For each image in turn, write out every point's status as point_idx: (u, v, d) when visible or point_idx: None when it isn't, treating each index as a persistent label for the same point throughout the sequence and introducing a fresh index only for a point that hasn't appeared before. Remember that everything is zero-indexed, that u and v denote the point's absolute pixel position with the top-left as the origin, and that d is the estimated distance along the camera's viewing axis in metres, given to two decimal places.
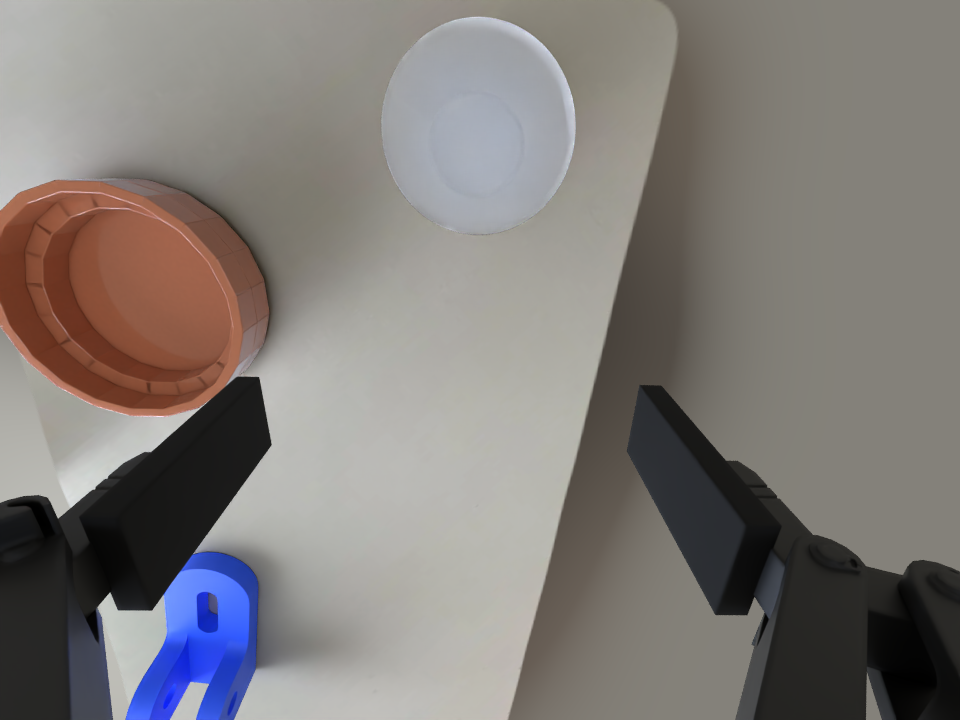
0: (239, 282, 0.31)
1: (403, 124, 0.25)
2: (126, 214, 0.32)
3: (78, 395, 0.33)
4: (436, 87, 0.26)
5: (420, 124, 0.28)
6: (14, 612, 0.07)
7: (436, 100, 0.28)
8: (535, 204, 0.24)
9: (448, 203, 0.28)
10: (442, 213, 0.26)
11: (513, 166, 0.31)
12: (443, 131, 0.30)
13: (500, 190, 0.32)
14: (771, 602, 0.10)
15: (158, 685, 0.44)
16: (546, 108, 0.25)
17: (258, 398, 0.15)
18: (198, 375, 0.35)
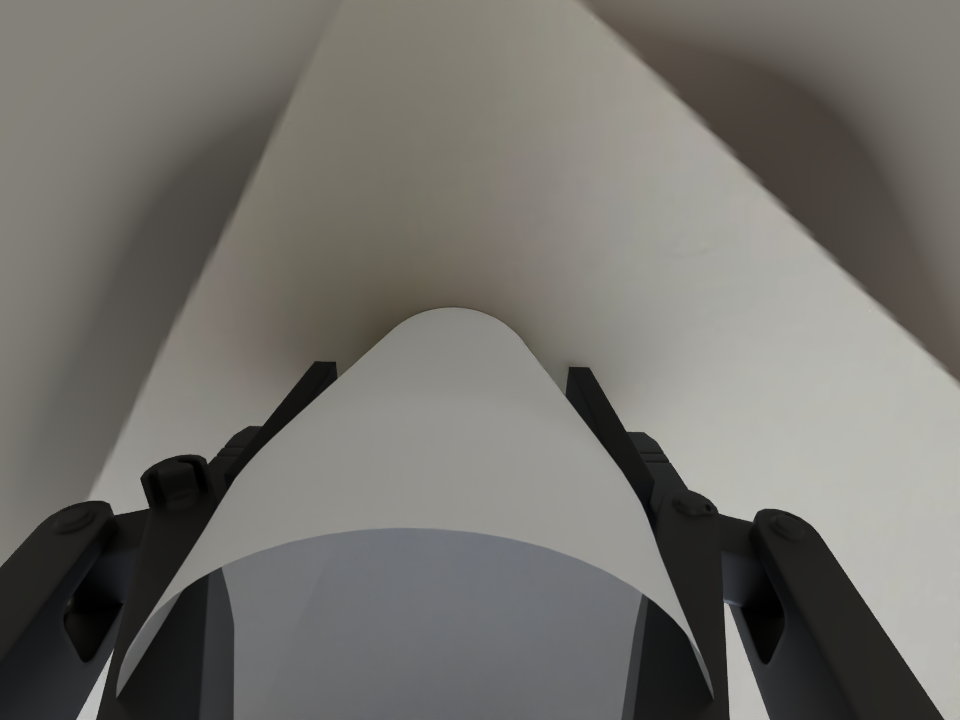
0: None
1: (352, 580, 0.13)
2: None
3: None
4: None
5: None
6: (171, 555, 0.08)
7: None
8: None
9: None
10: (525, 615, 0.13)
11: None
12: None
13: None
14: None
15: None
16: None
17: None
18: None
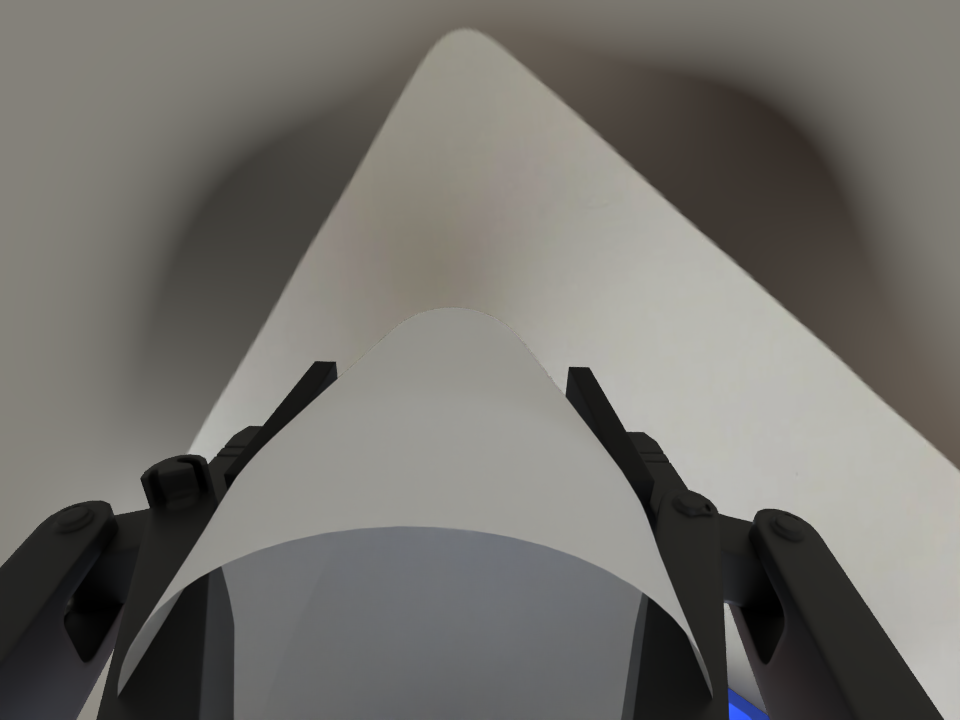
0: None
1: (352, 579, 0.13)
2: None
3: None
4: None
5: None
6: (172, 555, 0.08)
7: None
8: None
9: None
10: (525, 614, 0.13)
11: None
12: None
13: None
14: None
15: None
16: None
17: None
18: None
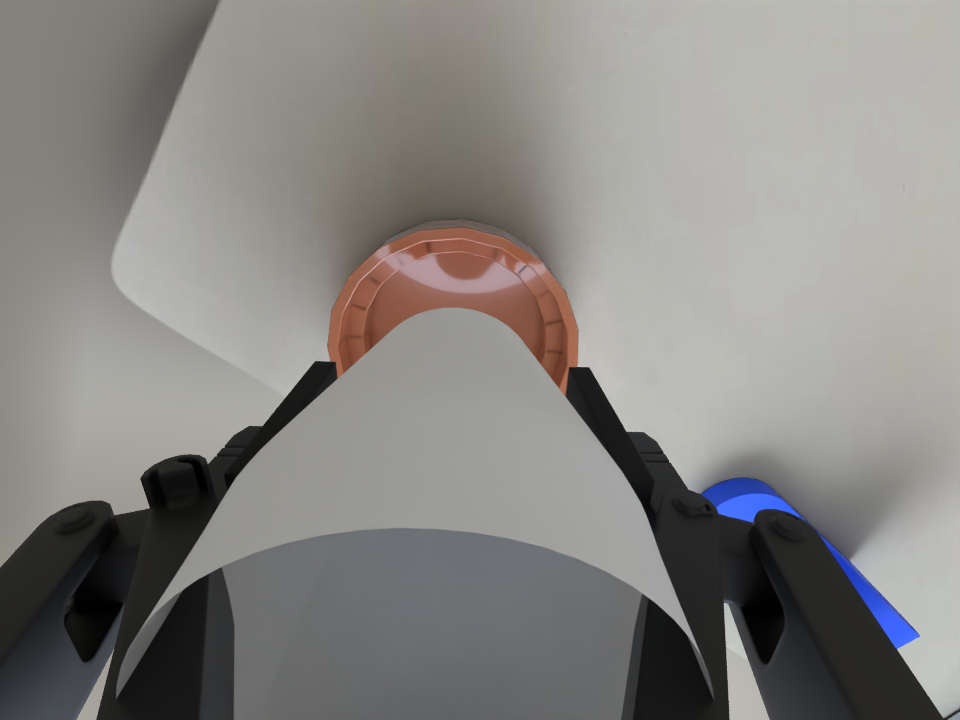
0: (493, 232, 0.27)
1: (351, 580, 0.13)
2: (382, 303, 0.32)
3: None
4: None
5: None
6: (172, 555, 0.08)
7: None
8: None
9: None
10: (525, 615, 0.13)
11: None
12: None
13: None
14: None
15: None
16: None
17: None
18: (545, 351, 0.32)
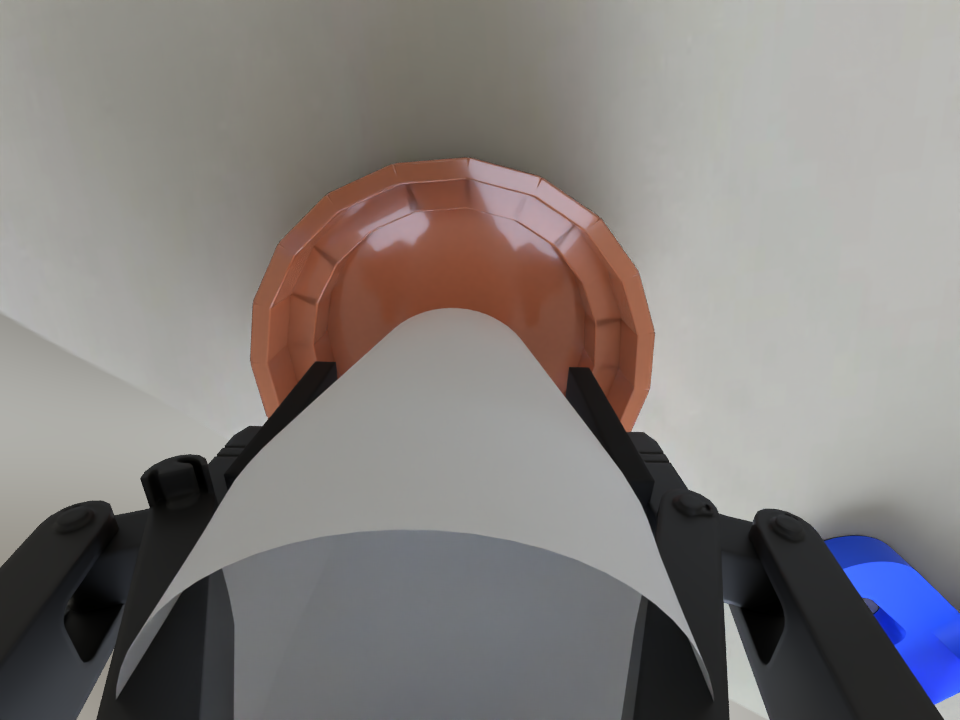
0: None
1: (351, 581, 0.13)
2: (345, 293, 0.21)
3: None
4: None
5: None
6: (172, 555, 0.08)
7: None
8: None
9: None
10: (525, 616, 0.13)
11: None
12: None
13: None
14: None
15: None
16: None
17: None
18: (594, 365, 0.21)
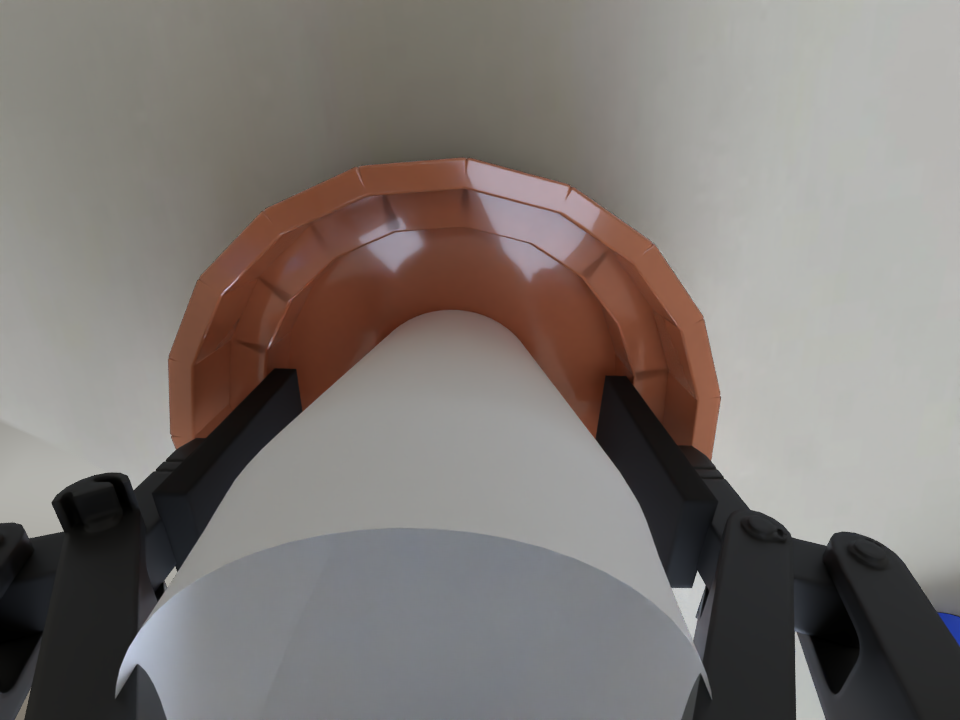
0: None
1: (351, 582, 0.13)
2: (309, 332, 0.17)
3: None
4: None
5: None
6: (94, 581, 0.08)
7: None
8: None
9: None
10: (524, 617, 0.13)
11: None
12: None
13: None
14: (711, 576, 0.10)
15: None
16: None
17: (295, 389, 0.16)
18: None
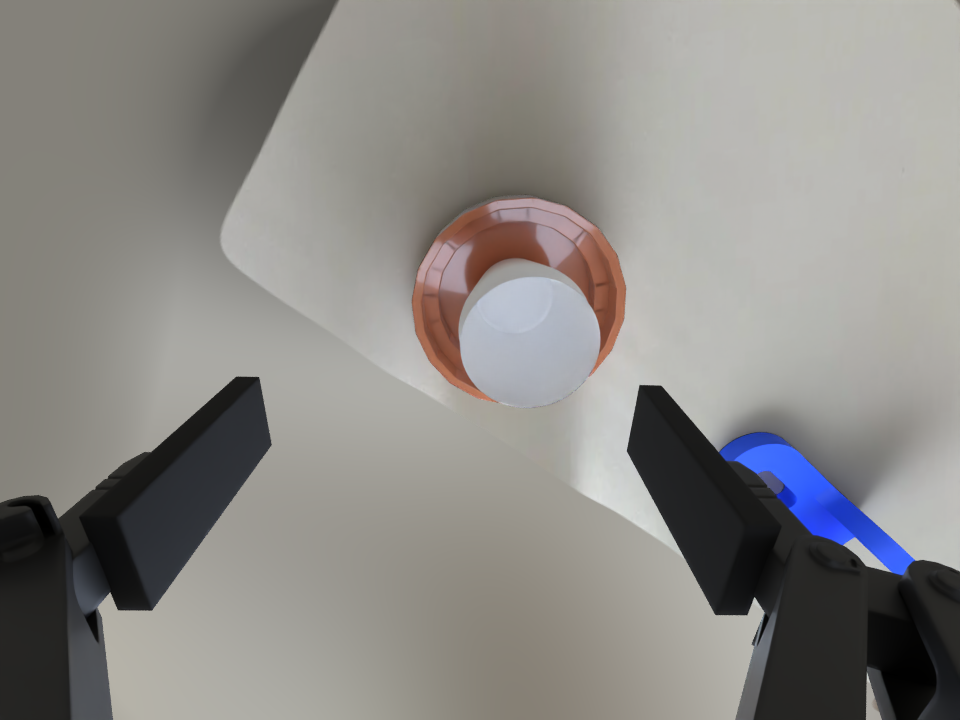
0: None
1: (482, 357, 0.34)
2: (452, 268, 0.38)
3: None
4: (470, 315, 0.35)
5: (483, 334, 0.37)
6: (14, 612, 0.07)
7: (474, 313, 0.37)
8: (589, 313, 0.30)
9: (542, 350, 0.36)
10: (550, 368, 0.33)
11: (543, 278, 0.38)
12: (492, 312, 0.39)
13: (553, 296, 0.38)
14: (771, 602, 0.10)
15: None
16: None
17: (258, 398, 0.15)
18: (593, 310, 0.37)
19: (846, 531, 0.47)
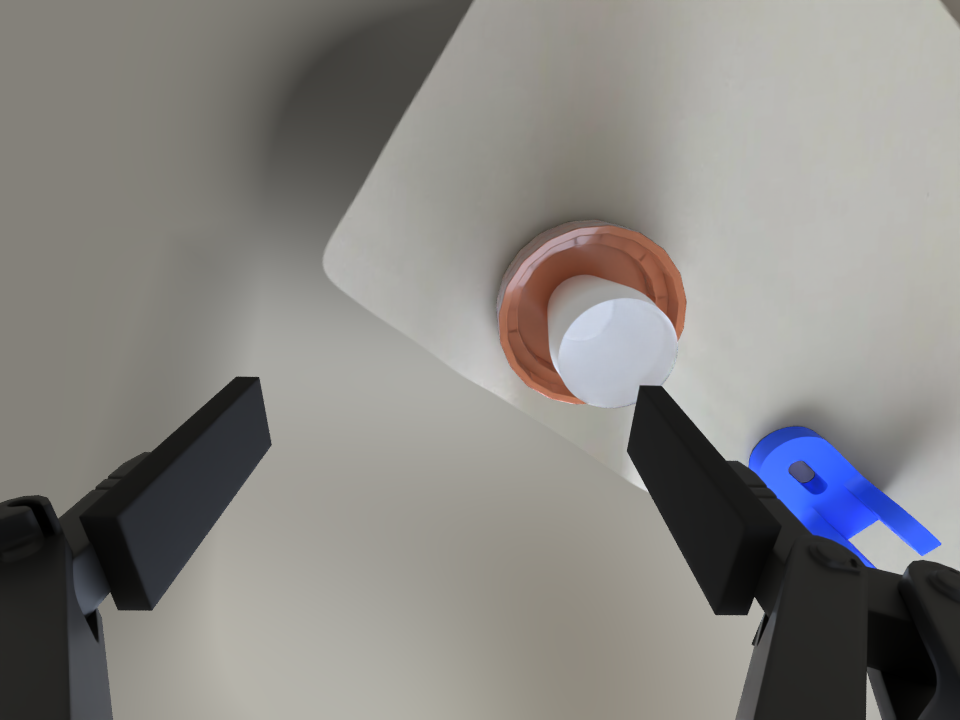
0: (628, 229, 0.37)
1: (562, 363, 0.39)
2: (527, 284, 0.42)
3: None
4: None
5: None
6: (14, 612, 0.07)
7: None
8: (661, 326, 0.35)
9: (610, 356, 0.41)
10: (621, 372, 0.38)
11: None
12: None
13: (615, 308, 0.43)
14: (771, 602, 0.10)
15: (842, 541, 0.48)
16: (608, 281, 0.36)
17: (258, 399, 0.15)
18: None
19: (871, 514, 0.52)
